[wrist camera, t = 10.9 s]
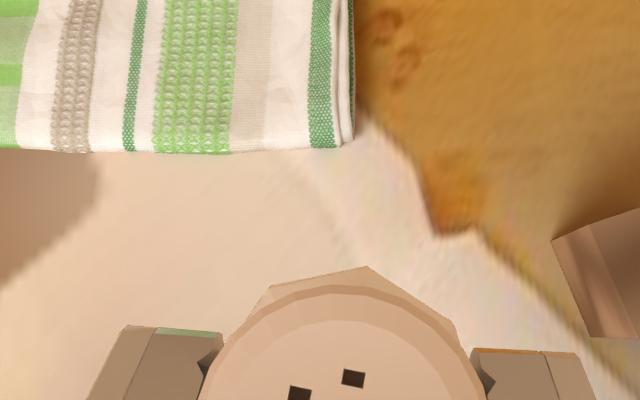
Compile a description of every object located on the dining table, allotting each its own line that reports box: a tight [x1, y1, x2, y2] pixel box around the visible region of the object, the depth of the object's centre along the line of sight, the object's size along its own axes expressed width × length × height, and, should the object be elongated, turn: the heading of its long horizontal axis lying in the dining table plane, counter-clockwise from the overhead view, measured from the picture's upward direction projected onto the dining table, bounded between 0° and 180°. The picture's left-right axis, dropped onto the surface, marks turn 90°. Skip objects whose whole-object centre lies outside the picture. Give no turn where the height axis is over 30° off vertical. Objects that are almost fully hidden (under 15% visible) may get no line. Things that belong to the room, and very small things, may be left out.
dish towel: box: [0, 0, 356, 155], centre depth 32 cm, size 17×23×4 cm
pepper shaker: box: [198, 266, 486, 400], centre depth 10 cm, size 5×5×11 cm
